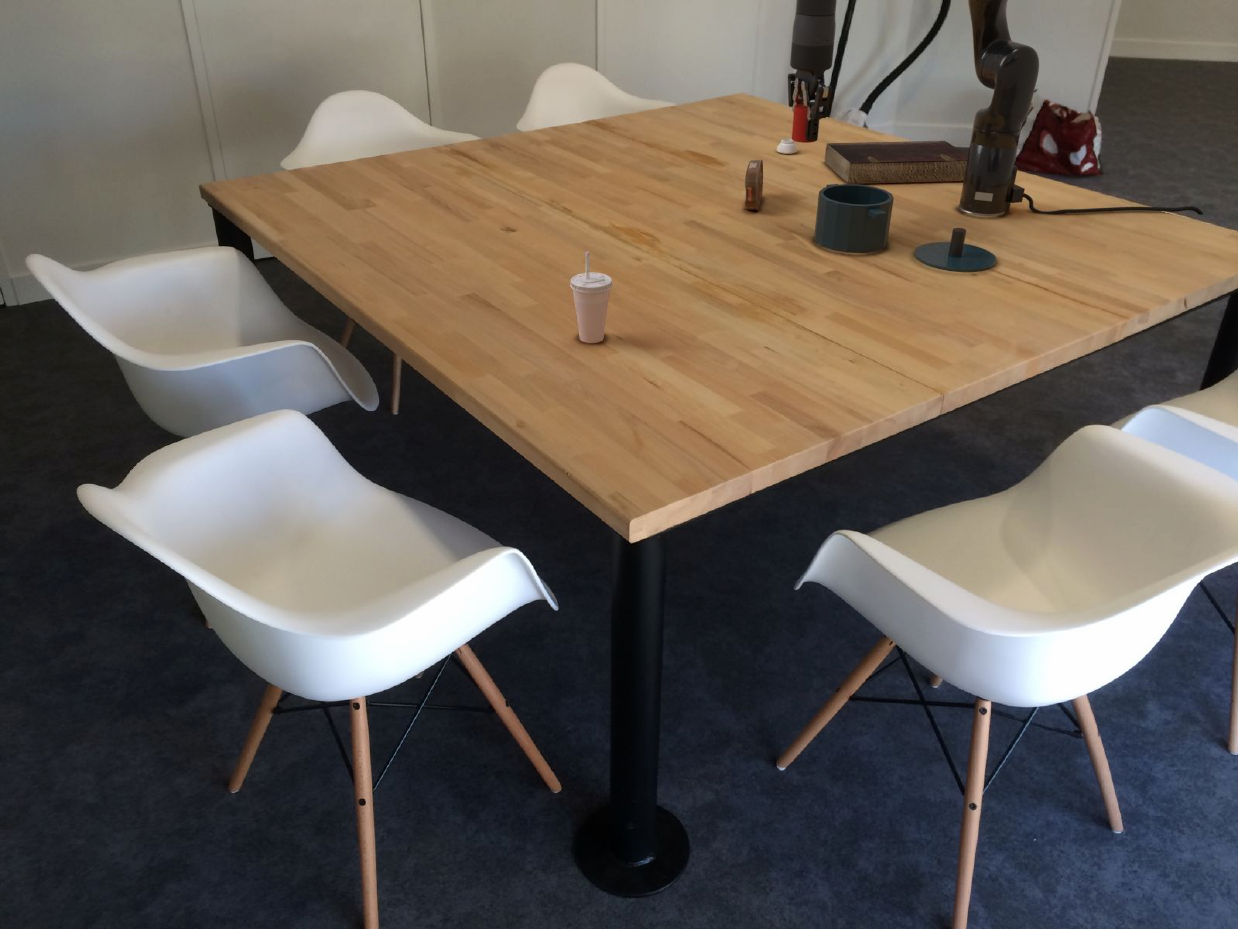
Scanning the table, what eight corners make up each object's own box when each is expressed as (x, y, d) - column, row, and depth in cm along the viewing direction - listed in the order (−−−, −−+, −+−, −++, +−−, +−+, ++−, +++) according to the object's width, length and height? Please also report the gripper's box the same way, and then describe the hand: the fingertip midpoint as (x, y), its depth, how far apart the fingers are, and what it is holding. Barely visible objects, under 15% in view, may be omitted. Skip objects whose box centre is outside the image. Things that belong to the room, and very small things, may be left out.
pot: (857, 224, 214) (863, 177, 209) (907, 256, 198) (914, 206, 193) (796, 230, 210) (800, 183, 205) (841, 263, 195) (847, 212, 190)
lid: (965, 244, 204) (971, 214, 201) (1011, 270, 192) (1018, 238, 189) (898, 251, 201) (903, 220, 197) (941, 278, 189) (946, 246, 186)
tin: (756, 215, 218) (759, 174, 214) (741, 214, 219) (744, 173, 215) (763, 194, 231) (766, 155, 227) (748, 193, 232) (751, 154, 227)
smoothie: (570, 330, 168) (568, 245, 161) (610, 329, 169) (610, 244, 161) (572, 347, 163) (570, 259, 155) (613, 346, 163) (614, 258, 156)
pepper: (810, 135, 202) (814, 93, 198) (821, 141, 198) (825, 99, 194) (787, 137, 201) (790, 95, 197) (798, 143, 197) (801, 101, 193)
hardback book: (941, 159, 256) (944, 138, 253) (972, 182, 240) (976, 159, 238) (824, 162, 253) (826, 141, 251) (847, 185, 237) (850, 162, 235)
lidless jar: (801, 152, 261) (785, 148, 264) (802, 140, 259) (786, 136, 262) (788, 155, 258) (772, 151, 261) (789, 143, 256) (773, 139, 259)
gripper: (850, 45, 185) (840, 144, 194) (814, 32, 197) (806, 126, 206) (811, 48, 183) (803, 147, 192) (777, 34, 195) (770, 129, 204)
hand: (804, 136), depth 199 cm, fingers closed on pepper, 4 cm apart
